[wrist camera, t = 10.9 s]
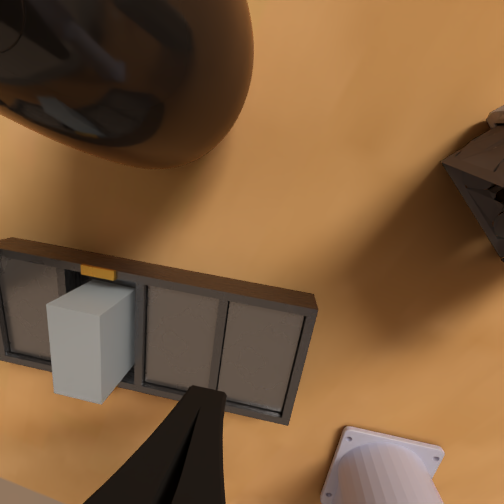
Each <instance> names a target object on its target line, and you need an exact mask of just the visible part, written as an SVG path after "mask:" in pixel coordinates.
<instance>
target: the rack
mask: <svg viewBox="0 0 504 504" xmlns="http://www.w3.org/2000/svg"><path fill="white" fill-rule="evenodd" d="M93 279H94V280H99V281H104V282H109V283H114V284H118V285H123V286H128V287H133V288H136V294H135V364H134V365H133V366H132V367H131V369H130V370H129V371H128V372H127V374H126V375H125V376H124V377H123V379H122V380H121V381H120V382H119V383H118V385H117V386H116V387H115V388H114V389H116V388H117V387H120V388H124V389H129V390H133V391H138V392H142V393H146V394H151V395H155V396H160V397H164V398H168V399H173V400H177V401H180V399H181V398H182V397H183V395H184V394H185V393H186V391H187V390H188V388H189V387H190V386H192V385H195V386H200V387H204V388H209V389H213V390H218V391H222V392H225V393H226V395H227V398H226V405H225V411H226V412H230V413H234V414H239V415H243V416H248V417H252V418H256V419H261V420H265V421H269V422H274V423H278V424H283V425H287V426H288V425H289V421H290V417H291V413H292V409H293V405H294V401H295V398H296V394H297V390H298V386H299V382H300V378H301V374H302V371H303V367H304V363H305V359H306V355H307V351H308V347H309V344H310V340H311V336H312V332H313V328H314V324H315V320H316V317H317V313H318V308H317V304H316V300H315V297H314V294H310V293H305V292H299V291H294V290H289V289H283V288H278V287H273V286H267V285H262V284H257V283H252V282H246V281H241V280H236V279H230V278H225V277H220V276H215V275H209V274H204V273H199V272H193V271H188V270H183V269H177V268H172V267H167V266H162V265H156V264H151V263H146V262H140V261H135V260H130V259H125V258H119V257H114V256H109V255H103V254H98V253H93V252H88V251H82V250H77V249H72V248H66V247H61V246H56V245H50V244H45V243H40V242H35V241H29V240H24V239H19V238H13V237H12V238H7V239H2V240H0V360H1V361H6V362H10V363H15V364H19V365H23V366H28V367H32V368H37V369H41V370H45V371H50V372H52V364H51V353H50V342H49V331H48V320H47V309H46V304H47V303H49V302H51V301H53V300H55V299H57V298H59V297H61V296H63V295H65V294H66V293H68V292H70V291H72V290H74V289H76V288H78V287H80V286H82V285H84V284H85V283H87V282H89V281H91V280H93Z"/></svg>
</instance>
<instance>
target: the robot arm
mask: <svg viewBox="0 0 504 504" xmlns="http://www.w3.org/2000/svg"><path fill="white" fill-rule="evenodd" d="M226 398H227V395H226V393H225V392H222V391H218V390H213V389H209V388H204V387H200V386H195V385H192V386H190V387H189V388H188V390H187V391H186V393H185V394H184V395H183V397H182V398H181V399H180V401H179V402H178V403H177V405H176V406H175V407H174V408H173V410H172V411H171V412H170V413H169V415H168V416H167V417H166V418H165V419H164V421H163V422H162V423H161V424H160V425H159V426H158V427H157V429H156V430H155V431H154V432H153V433H152V434H151V436H150V437H149V438H148V439H147V440H146V441H145V442H144V443H143V444H142V445H141V447H140V448H139V449H138V450H137V451H136V452H135V453H134V454H133V455H132V456H131V457H130V458H129V459H128V460H127V461H126V462H125V463H124V464H123V465H122V466H121V467H120V469H118V470H117V471H116V472H115V473H114V474H113V475H112V476H111V477H110V478H109V479H108V480H107V481H106V482H105V483H104V484H103V485H102V486H101V487H100V488H99V489H98V490H97V491H96V492H95V493H94V494H93V495H92V496H91V497H89V498H88V499H87V500H86V501H85V502H84V503H83V504H226V502H225V490H224V475H223V418H224V411H225V405H226ZM444 454H445V453H444V451H443V449H442V448H441V447H440V446H437V445H432V444H428V443H423V442H419V441H414V440H410V439H405V438H401V437H397V436H392V435H388V434H383V433H379V432H374V431H370V430H365V429H361V428H356V427H352V426H346V427H345V428H344V429H343V432H342V435H341V437H340V440H339V443H338V446H337V449H336V452H335V455H334V458H333V460H332V463H331V466H330V469H329V472H328V475H327V478H326V481H325V483H324V486H323V489H322V492H321V495H320V501H321V503H322V504H444V503H443V501H442V499H441V497H440V495H439V493H438V491H437V489H436V487H435V485H434V483H433V481H432V478H433V476H434V474H435V472H436V470H437V468H438V466H439V464H440V463H441V461H442V459H443V457H444Z"/></svg>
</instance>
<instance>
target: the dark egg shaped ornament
mask: <svg viewBox="0 0 504 504" xmlns="http://www.w3.org/2000/svg"><path fill="white" fill-rule="evenodd" d="M253 60H254V41H253V30H252V22H251V17H250V12H249V7H248V3H247V0H0V115H2V116H4V117H6V118H8V119H10V120H12V121H14V122H16V123H18V124H20V125H22V126H24V127H26V128H28V129H30V130H33V131H35V132H37V133H39V134H41V135H43V136H45V137H48V138H50V139H52V140H54V141H57V142H59V143H61V144H64V145H66V146H69V147H71V148H74V149H76V150H79V151H82V152H84V153H87V154H90V155H93V156H96V157H99V158H102V159H105V160H108V161H111V162H115V163H118V164H122V165H126V166H131V167H136V168H144V169H169V168H175V167H179V166H182V165H185V164H188V163H191V162H193V161H195V160H197V159H199V158H200V157H202V156H204V155H205V154H207V153H208V152H209V151H211V150H212V149H213V148H214V147H215V146H216V145H217V144H218V143H219V142H220V141H221V140H222V139H223V138H224V137H225V136H226V135H227V133H228V132H229V131H230V129H231V128H232V126H233V125H234V123H235V121H236V120H237V118H238V116H239V114H240V112H241V110H242V108H243V105H244V103H245V100H246V97H247V94H248V90H249V86H250V82H251V77H252V70H253Z"/></svg>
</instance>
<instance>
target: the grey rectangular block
mask: <svg viewBox="0 0 504 504" xmlns="http://www.w3.org/2000/svg"><path fill="white" fill-rule="evenodd" d="M135 294H136V288H133V287H128V286H123V285H118V284H114V283H109V282H104V281H99V280H94V279H93V280H91V281H89V282H87V283H85V284H84V285H82V286H80V287H78V288H76V289H74V290H72V291H70V292H68V293H66V294H65V295H63V296H61V297H59V298H57V299H55V300H53V301H51V302H49V303H47V304H46V309H47V320H48V331H49V342H50V353H51V364H52V375H53V386H54V393H56V394H60V395H64V396H69V397H73V398H77V399H81V400H85V401H89V402H93V403H97V404H101V405H102V403H103V402H104V401H105V400H106V398H107V397H108V396H109V395H110V393H111V392H112V391H113V390H114V388H115V387H116V386H117V385H118V383H119V382H120V381H121V380H122V379H123V377H124V376H125V375H126V374H127V372H128V371H129V370H130V369H131V367H132V366H133V365H134V364H135Z"/></svg>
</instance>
